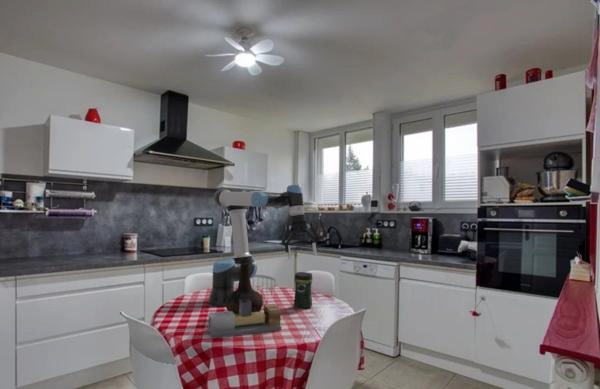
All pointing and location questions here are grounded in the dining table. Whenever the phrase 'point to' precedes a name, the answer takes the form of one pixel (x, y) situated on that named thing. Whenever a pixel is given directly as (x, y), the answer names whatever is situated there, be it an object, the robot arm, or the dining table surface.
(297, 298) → the coffee jar
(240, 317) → the tan slab
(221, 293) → the robot arm
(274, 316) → the walnut socket
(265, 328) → the base board
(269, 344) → the dining table surface
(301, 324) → the dining table surface
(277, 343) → the dining table surface
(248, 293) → the glass bottle
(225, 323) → the steel sleeve
